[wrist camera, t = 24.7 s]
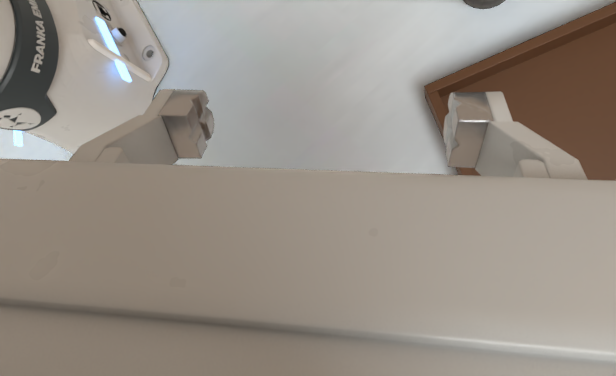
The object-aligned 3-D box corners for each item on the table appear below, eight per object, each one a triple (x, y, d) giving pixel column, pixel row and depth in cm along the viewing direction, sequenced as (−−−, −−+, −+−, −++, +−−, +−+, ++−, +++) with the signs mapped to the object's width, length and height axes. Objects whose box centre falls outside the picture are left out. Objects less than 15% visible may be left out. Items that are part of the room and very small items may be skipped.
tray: (424, 95, 36) (423, 85, 34) (679, -15, 31) (702, -37, 29) (505, 283, 33) (511, 289, 30) (801, 193, 28) (839, 190, 26)
